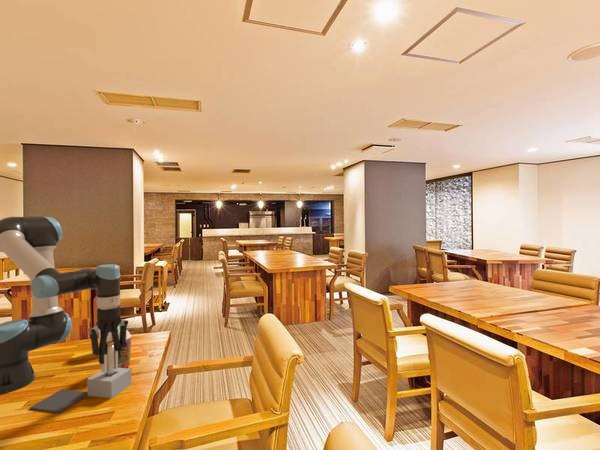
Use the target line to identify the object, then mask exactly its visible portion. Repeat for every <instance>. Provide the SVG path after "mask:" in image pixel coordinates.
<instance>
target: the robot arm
mask: <svg viewBox="0 0 600 450" xmlns="http://www.w3.org/2000/svg"><path fill="white" fill-rule="evenodd" d="M62 237H63V230H62V226H61V224H60V223H59V221H57V219H56V218H54V217H50V216H9V217H8V216H7V217H4V218H2V219H0V253H4V255H5V256H7V257H8V258H9V259H10V261H11V262H13V264H15V266H17V268H18V269H19V270H20V271H22V272H23V273H24V275H25V276H26V277H28V279H29V283H30V284H29V285H30V291H31V292H30V293H31V301H32V302H31V304H32V312H30V314H29V315H28V319H29V320H27V319H25V318H24V319H23V318H20V319H19V318H18V319H14V320H9V321H5V322H2V323H0V395H1V394H5V393H9V392H14V391H16V390H19V389H21V388H24V387H26V386H28V385H30V384H31V383H32V382H34V380H35V379H36V378H35V376H36V375H35V373H36V372H35V371H34V369H33V367H32V364H31V362H30V361H29V352H31V351H35V350H37V349H40V348H44V347H47V346H50V345H55V344H57V343H58V342H62V341H64V340H66V339H67V338H68V337H69V335H70V334H71V331H72V328H73V327H72V326H73V325H72V318H71V316H70V314H68V313H67V312H64V308H62V307H60V305H59V298H58V296H62V295H66V294H70V293H76V292H80V291H82V292H83V291H85V290H96V307H97V309H96V320H97V321H96V323H95V325H94V326H93V327H89V328H88V330H87V331H88V333H89V334H90V340H91V341H90V342H91V350H92V352H91V353H92V355H95V356H97V357H98V364H100V365H101V367H100V368H101V371H102V372H104V373H107V354H105V348H106V341H107V336H108V333H109V332H111V334H112V339H113V340H114V346H115V369H118V358H120V351H121V350H122V347H125V345H126V330H128V329H127V328H128V324H129V320H127V319H122V318H121V314H122V313H121V306H120V305H121V273H120V271H121V270H120V265H118V264H109V263H108V264H101V265H97V266H96V268H91V267H85V268H79V269H78V270H73V271H67V272H66V271H65V272H60V270H58V269H56V268H55V259H54V250H55V249H56V248H57V247H58V243H60V242H61V240H62ZM119 324H120V325H121V326H120V338H119V337H118V326H119ZM98 329H99V330H100V335H101V336H100V340H99V335H98Z"/></svg>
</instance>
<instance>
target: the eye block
mask: <svg viewBox="0 0 600 450" xmlns="http://www.w3.org/2000/svg"><path fill="white" fill-rule="evenodd" d="M86 381H87V382H86V383H87V384H86V385H87V386H86V387H87V388H86V389H87V391H86V392H87V394H88V396H89V397H95V398H97V397H98V398H106V399H113V398H115V397H116V396H117V395H119V394H120V393H121V392H123V391H124V390H125V389H127V388H129V386H132V368H128V369H127V368H118V369H115V374H114V375H113V376H111V377H107V376H105V373H104V372H102V370H100V371H98V372H97V373H95V374H94V375H92V376H90V377H88V378H87V379H86Z"/></svg>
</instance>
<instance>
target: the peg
mask: <svg viewBox="0 0 600 450" xmlns="http://www.w3.org/2000/svg"><path fill="white" fill-rule="evenodd" d="M105 354H107V373H105V376H107V377H111V376H113V375H114V374H115V346H114V340H109V341H106V348H105Z"/></svg>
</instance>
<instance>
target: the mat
mask: <svg viewBox="0 0 600 450" xmlns="http://www.w3.org/2000/svg"><path fill="white" fill-rule="evenodd" d="M87 396H88V394H87V391H81V390H71V389H65V388H62V389H59V390H58V391H56V392H54V393H53V394H51V395H49V396H47V397H45V398H44V399H42V400H40V401H38V402H36V403H35V404H33V405H31V406H29V410H33V411H41V412H46V413H47V412H48V413H55V414H61V413H62V412H64V411H66V410H67V409H68V408H71V406H73V405H75V404H77V403H78V402H80V401H81V400H83V399H84V398H86V397H87Z"/></svg>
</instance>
